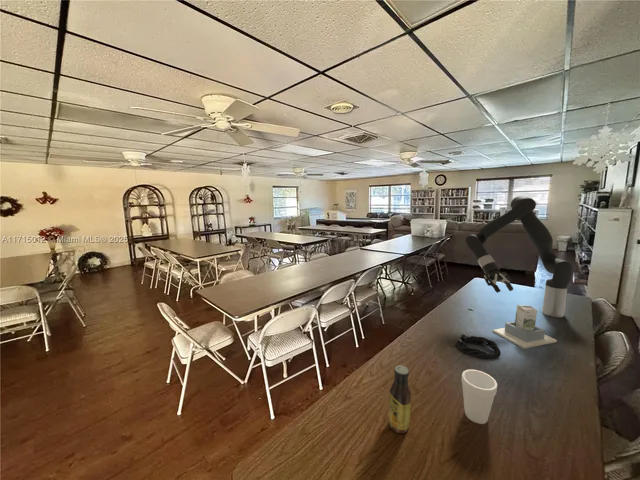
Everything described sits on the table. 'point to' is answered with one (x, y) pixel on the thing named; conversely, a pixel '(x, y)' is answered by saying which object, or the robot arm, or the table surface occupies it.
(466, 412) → the foam cup
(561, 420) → the table surface
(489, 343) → the cable
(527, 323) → the syrup box
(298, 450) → the table surface
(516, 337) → the end holder
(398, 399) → the sauce bottle
